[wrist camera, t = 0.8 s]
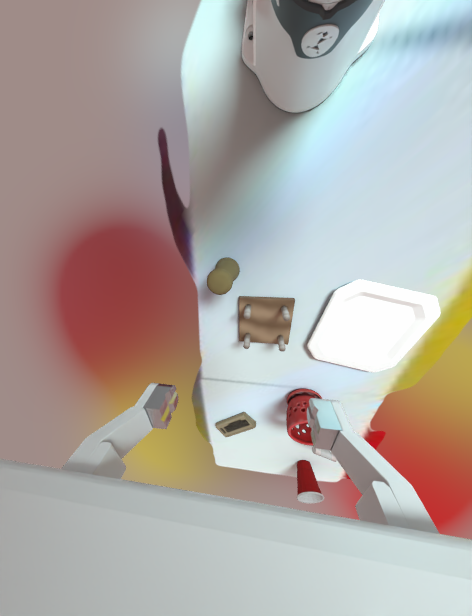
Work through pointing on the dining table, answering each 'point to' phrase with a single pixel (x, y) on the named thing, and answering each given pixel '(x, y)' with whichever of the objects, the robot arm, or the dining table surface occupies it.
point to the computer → (236, 424)
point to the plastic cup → (307, 484)
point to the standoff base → (265, 320)
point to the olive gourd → (223, 276)
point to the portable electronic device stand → (324, 453)
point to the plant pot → (299, 415)
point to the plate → (371, 325)
